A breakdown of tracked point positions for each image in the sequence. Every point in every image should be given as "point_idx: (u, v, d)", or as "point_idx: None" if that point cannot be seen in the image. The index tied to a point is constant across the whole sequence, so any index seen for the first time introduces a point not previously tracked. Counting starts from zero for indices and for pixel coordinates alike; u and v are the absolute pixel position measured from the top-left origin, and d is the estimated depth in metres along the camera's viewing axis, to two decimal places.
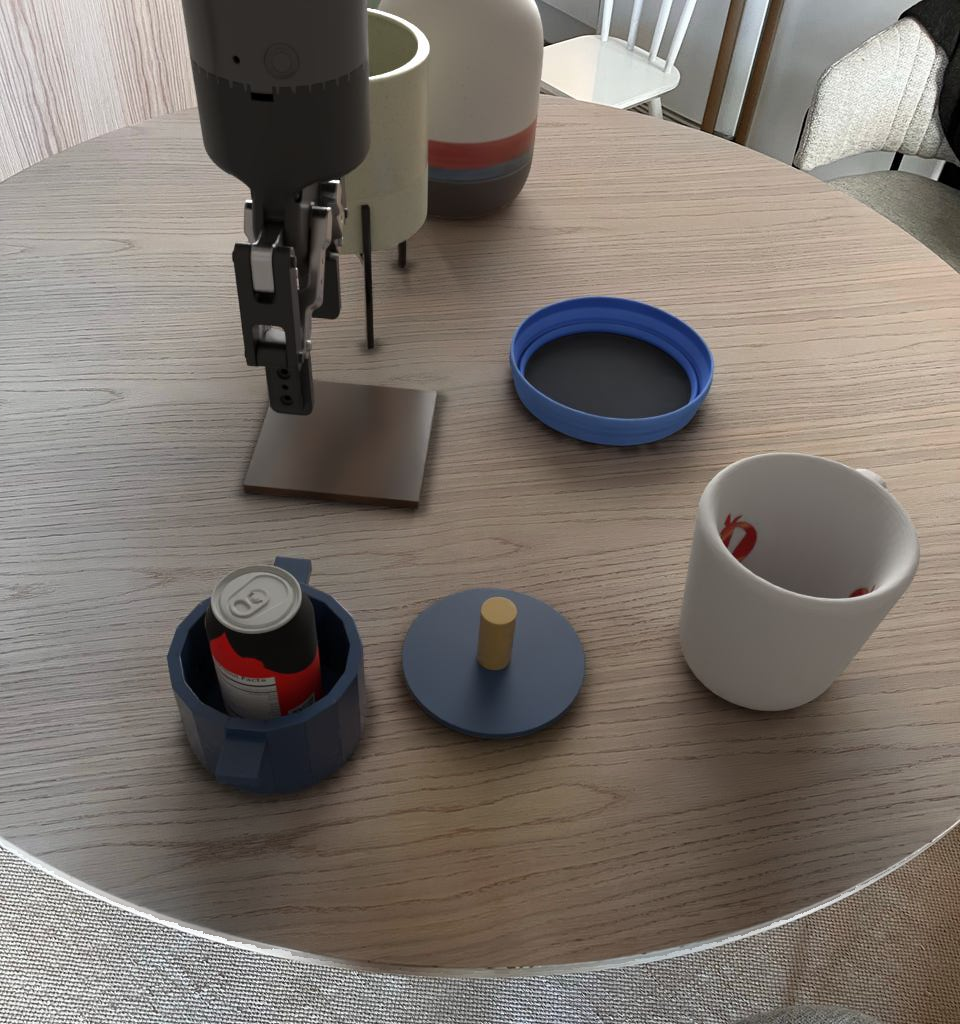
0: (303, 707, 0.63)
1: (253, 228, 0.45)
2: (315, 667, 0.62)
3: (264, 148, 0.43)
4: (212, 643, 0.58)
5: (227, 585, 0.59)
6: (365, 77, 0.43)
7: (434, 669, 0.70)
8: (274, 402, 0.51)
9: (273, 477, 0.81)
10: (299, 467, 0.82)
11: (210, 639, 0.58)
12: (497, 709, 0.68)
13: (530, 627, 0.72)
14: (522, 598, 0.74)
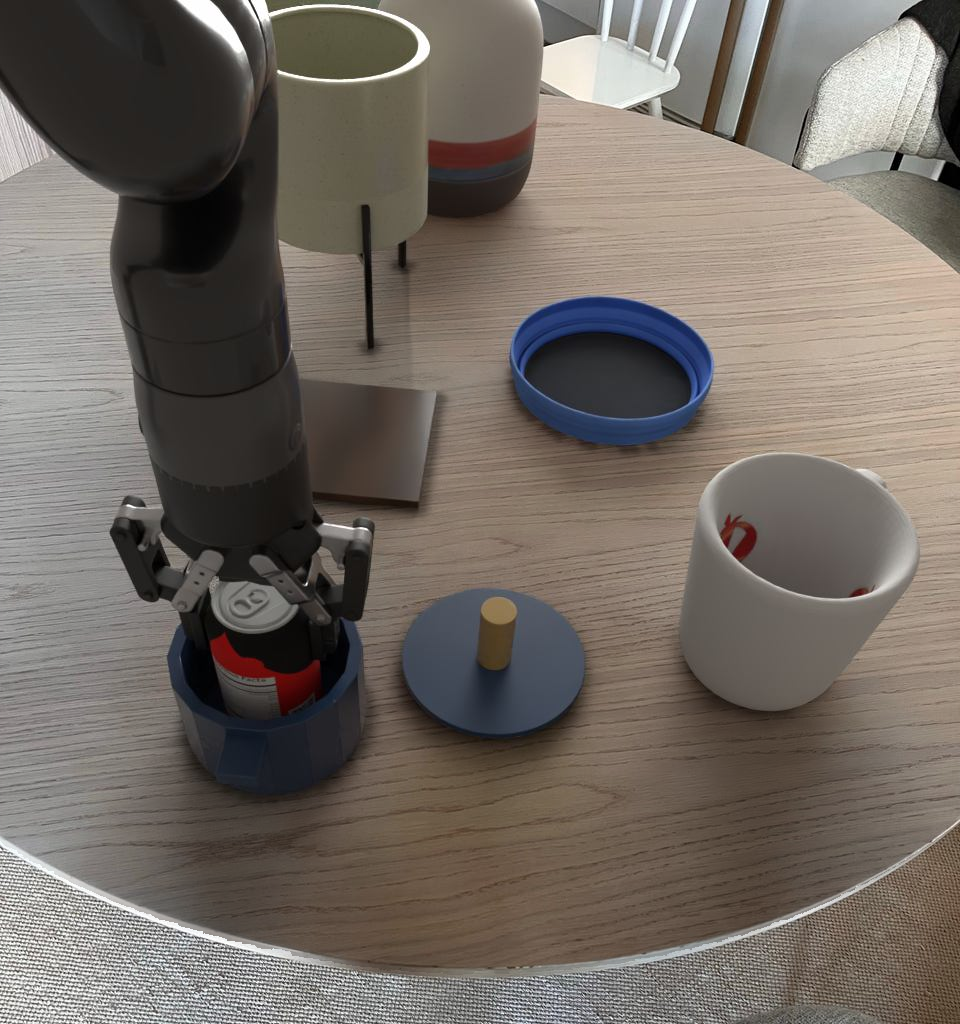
0: (303, 707, 0.63)
1: None
2: (315, 667, 0.62)
3: None
4: (212, 643, 0.58)
5: (227, 585, 0.59)
6: (199, 495, 0.47)
7: (434, 669, 0.70)
8: None
9: None
10: None
11: (210, 639, 0.58)
12: (497, 709, 0.68)
13: (530, 627, 0.72)
14: (522, 598, 0.74)
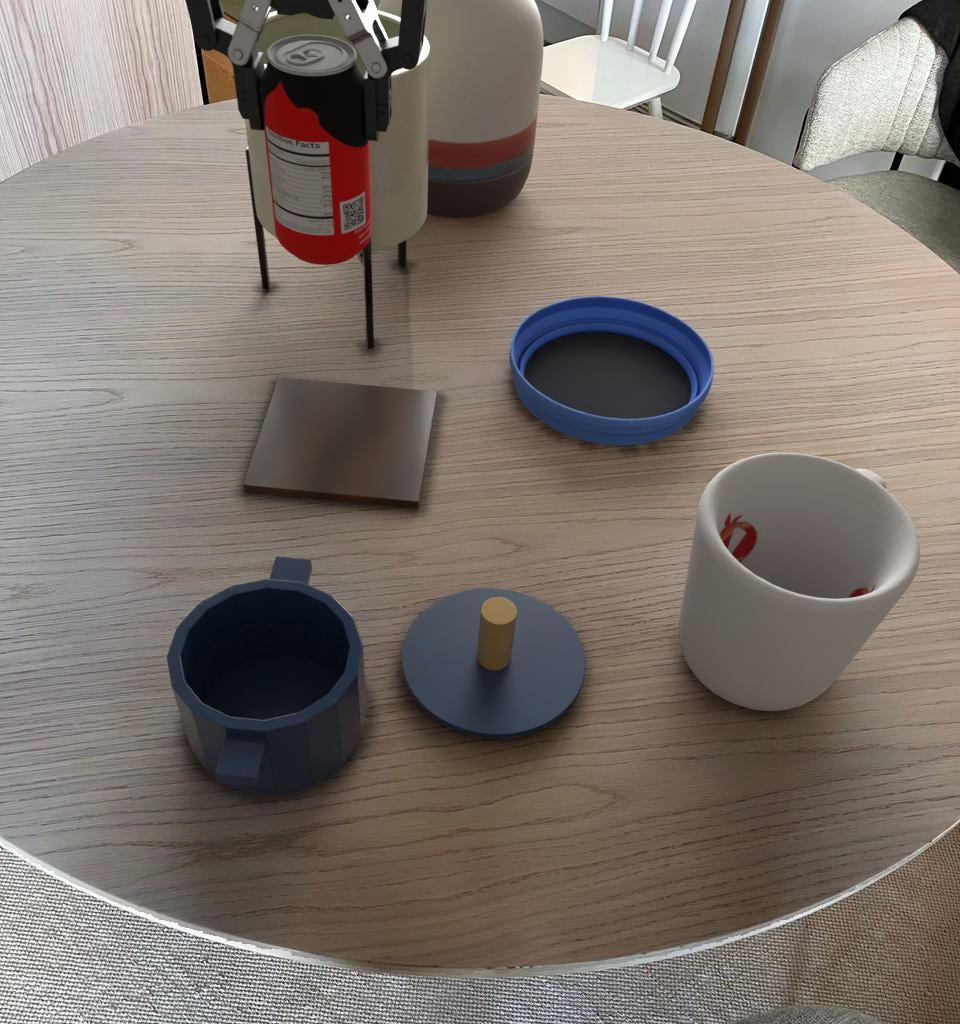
0: (354, 205, 0.63)
1: None
2: (367, 158, 0.62)
3: None
4: (267, 101, 0.59)
5: (282, 47, 0.59)
6: None
7: (434, 669, 0.70)
8: None
9: (273, 477, 0.81)
10: (299, 467, 0.82)
11: (265, 97, 0.59)
12: (497, 709, 0.68)
13: (530, 627, 0.72)
14: (522, 598, 0.74)
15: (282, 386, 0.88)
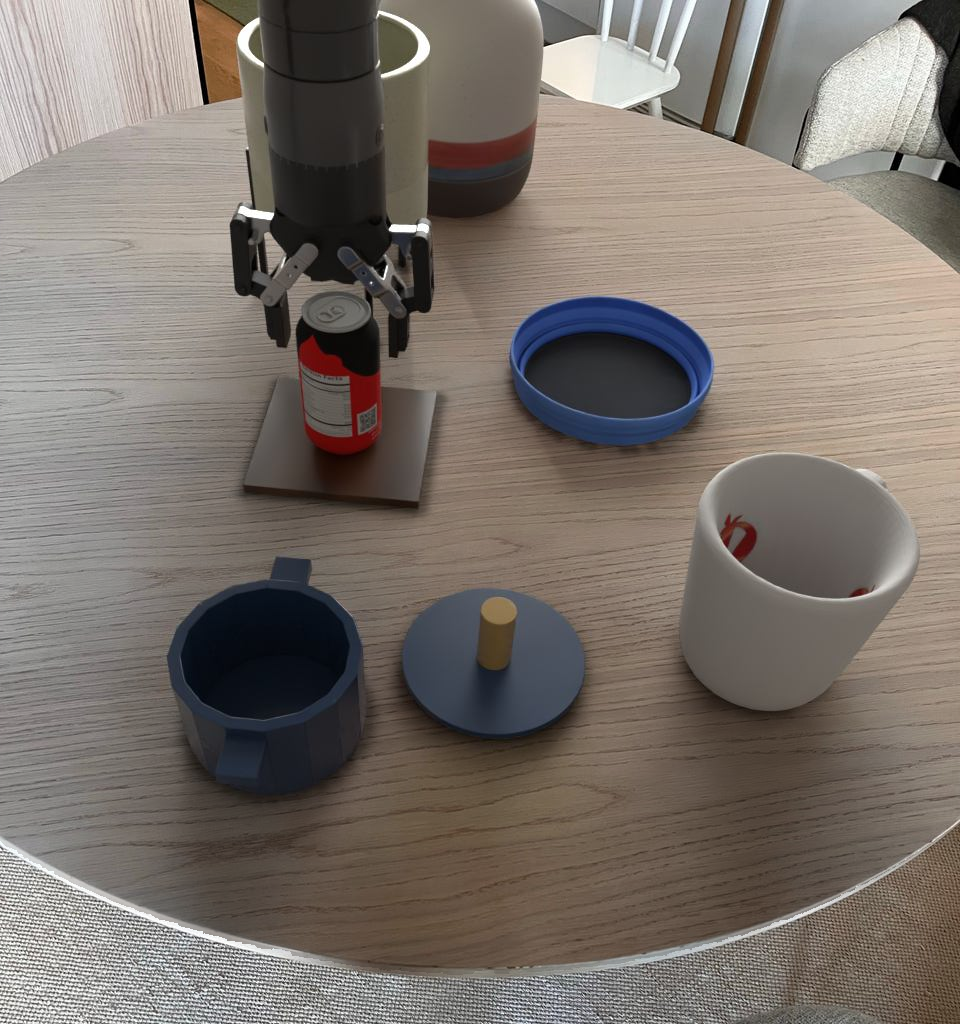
0: (368, 414, 0.80)
1: None
2: (378, 380, 0.79)
3: None
4: (302, 346, 0.75)
5: (313, 303, 0.76)
6: (309, 175, 0.64)
7: (434, 669, 0.70)
8: None
9: (273, 477, 0.81)
10: (299, 467, 0.82)
11: (300, 343, 0.75)
12: (497, 709, 0.68)
13: (530, 627, 0.72)
14: (522, 598, 0.74)
15: (282, 386, 0.88)
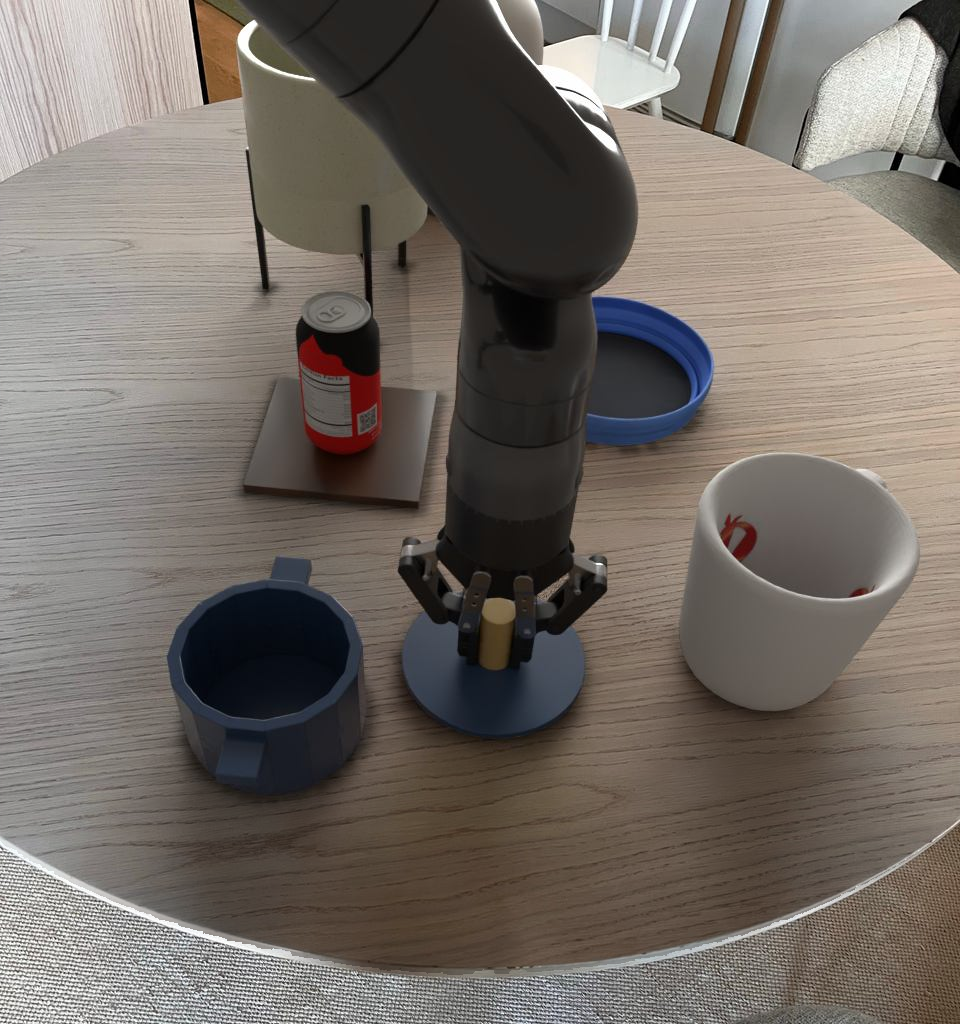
0: (368, 414, 0.80)
1: None
2: (378, 380, 0.79)
3: None
4: (302, 346, 0.75)
5: (313, 303, 0.76)
6: (499, 527, 0.55)
7: (434, 669, 0.70)
8: None
9: (273, 477, 0.81)
10: (299, 467, 0.82)
11: (300, 343, 0.75)
12: (497, 709, 0.68)
13: None
14: None
15: (282, 386, 0.88)
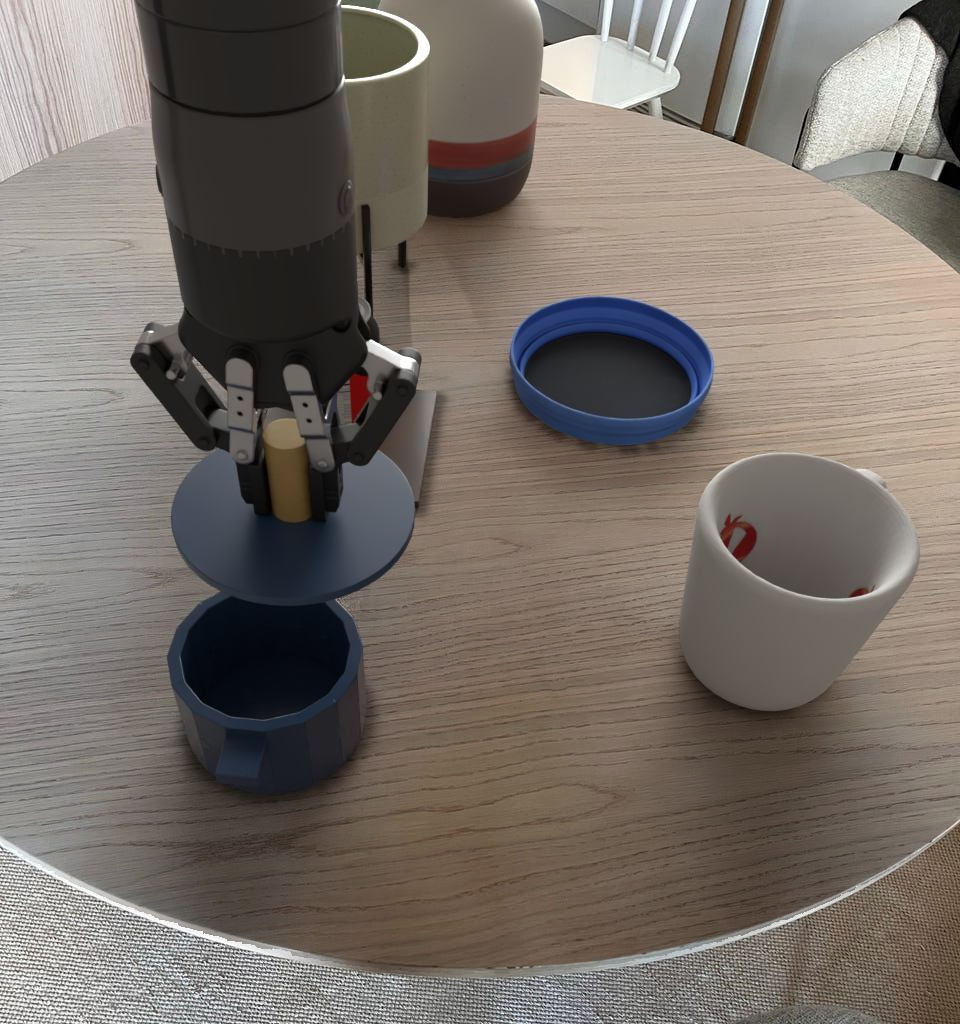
0: None
1: None
2: None
3: None
4: None
5: None
6: (229, 265, 0.39)
7: (213, 520, 0.53)
8: None
9: None
10: None
11: None
12: (288, 568, 0.51)
13: (348, 474, 0.56)
14: None
15: None
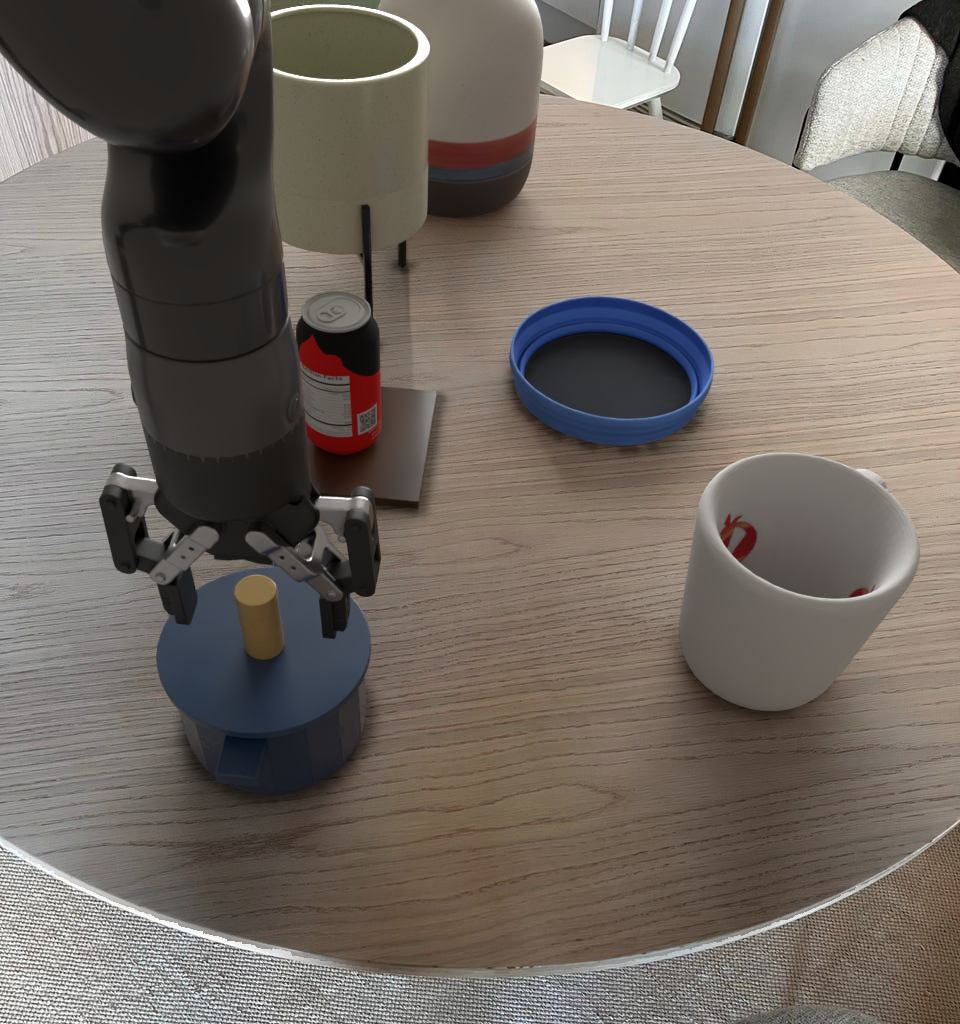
0: (368, 414, 0.80)
1: None
2: (378, 380, 0.79)
3: None
4: (302, 346, 0.75)
5: (313, 303, 0.76)
6: (193, 467, 0.46)
7: (193, 658, 0.61)
8: None
9: None
10: None
11: (300, 343, 0.75)
12: (258, 704, 0.59)
13: (313, 611, 0.63)
14: None
15: None
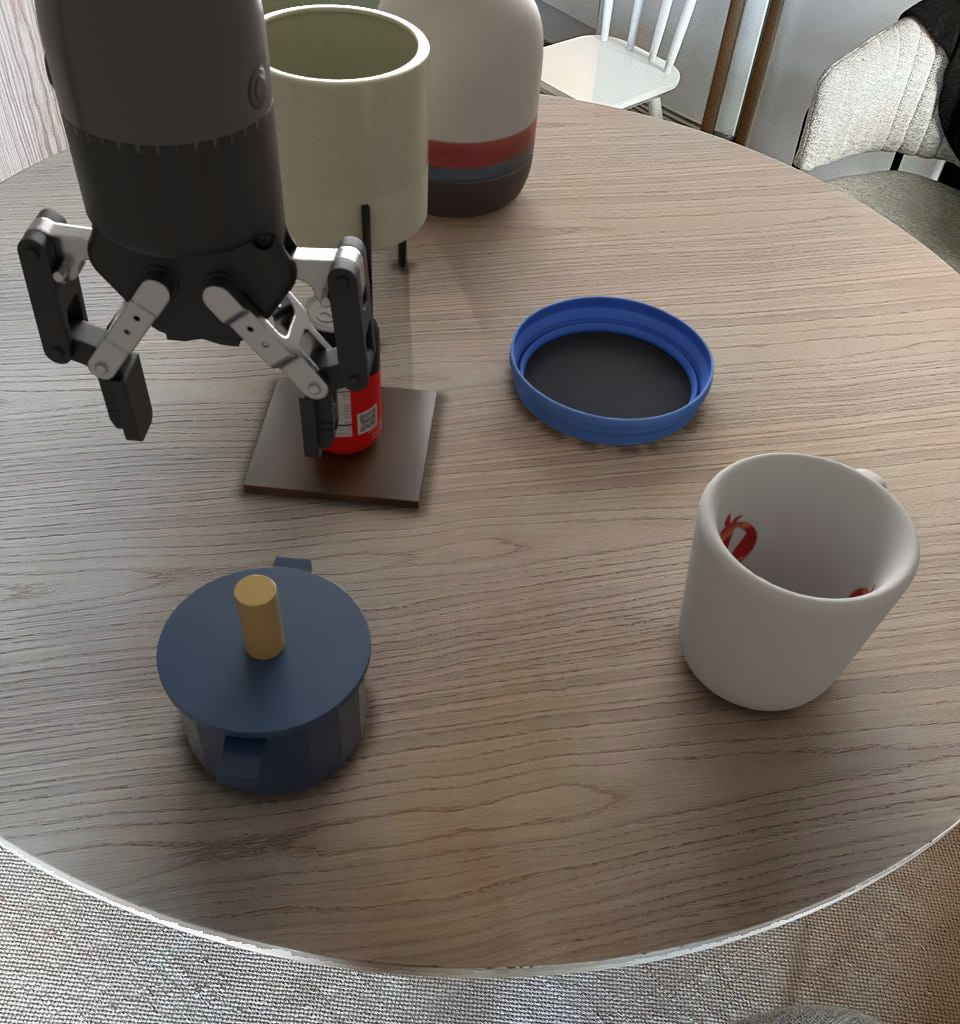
0: (368, 414, 0.80)
1: None
2: (378, 380, 0.79)
3: None
4: None
5: (313, 303, 0.76)
6: (127, 163, 0.35)
7: (193, 658, 0.61)
8: None
9: (273, 477, 0.81)
10: (299, 467, 0.82)
11: None
12: (258, 704, 0.59)
13: (313, 611, 0.63)
14: (309, 578, 0.65)
15: (282, 386, 0.88)
